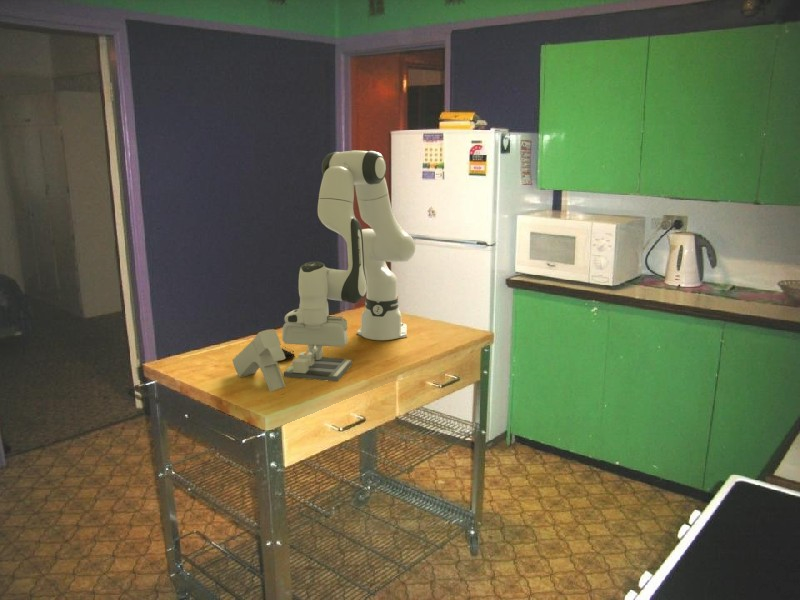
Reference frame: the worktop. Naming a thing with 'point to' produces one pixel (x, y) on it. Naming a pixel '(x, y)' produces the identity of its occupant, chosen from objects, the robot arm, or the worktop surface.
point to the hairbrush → (288, 353)
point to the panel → (323, 369)
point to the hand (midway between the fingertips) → (315, 358)
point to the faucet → (262, 359)
